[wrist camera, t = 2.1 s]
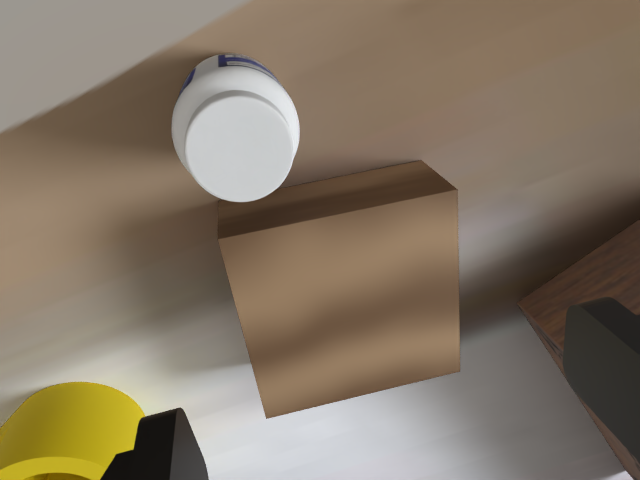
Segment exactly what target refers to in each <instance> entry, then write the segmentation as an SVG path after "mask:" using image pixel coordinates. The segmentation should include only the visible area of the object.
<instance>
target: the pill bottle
mask: <svg viewBox="0 0 640 480" xmlns="http://www.w3.org/2000/svg"><path fill="white" fill-rule="evenodd" d="M299 134H300V129H299V120H298V116H297V112H296V109H295V107H294V104H293V102H292V100H291V98H290V96H289V95H288V93H287V92H286V90H285V89H284V88H283V86H282V85H281V84H280V83H279V81H278V80H277V79H276V77H275V76H274V75H273V74H272V73H271V71H270V70H269V69H268V68H266V67H265V66H264V65H263V64H261V63H260V62H258V61H257V60H255V59H253V58H251V57H248V56H245V55H242V54H235V53H226V54H219V55H215V56H212V57H210V58H207V59H206V60H204V61H202V62H201V63H199V64H198V65H197V66H196V67H195V68H194V69H193V70H192V71H191V72H190V74H189V75H188V77H187V78H186V80H185V82H184V84H183V86H182V89H181V91H180V94H179V97H178V99H177V102H176V104H175V107H174V111H173V116H172V139H173V143H174V147H175V150H176V152H177V155H178V157H179V159H180V161H181V162H182V164H183V165H184V167H185V168H186V169H187V170H188V171H189V172H190V174H191V175H192V176H193V177H194V179H195V180H196V182H197V183H198V184H199V185H200V186H201V187H202V188H203V189H205V190H206V191H207V192H209V193H210V194H212V195H214V196H216V197H218V198H220V199H223V200H227V201H231V202H249V201H254V200H257V199H260V198H263V197H265V196H267V195H268V194H270V193H272V192H273V191H274V190H276V189H277V188H278V187H279V186H280V185H281V184H282V182H283V181H284V180H285V178H286V177H287V175H288V173H289V171H290V169H291V166H292V162H293V159H294V156H295V154H296V151H297V148H298V144H299Z"/></svg>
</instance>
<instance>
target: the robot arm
mask: <svg viewBox="0 0 640 480" xmlns="http://www.w3.org/2000/svg"><path fill="white" fill-rule="evenodd" d="M563 369H564V373H565V376H566V378H567V380H568V383H569V384H570V386H571V388H572V389H573V390H574V392H575V393H576V394H577V395H578V396H579V397H580V398H581V399H582V400H583V402H584V403H585V404H586V405H587V406H588V407H589V408H590V409H591V410H592V411H593V412H594V413H595V415H596V416H597V417H598V418H599V419H600V420H601V421H602V422H603V423H604V424H605V425H606V427H607V428H608V429H609V430H610V431H611V432H612V433H613V434H614V435H615V436H616V437H617V439H618V440H619V441H620V442H621V443H622V444H623V445H624V446H625V447H626V448H627V449H628V451H629V452H630V453H631V454H632V455H633V456H634V457H635V458H636V459H637V460H638V461H639V462H640V314H639V315H635V314H634V313H633V312H631V311H630V310H629V309H627V308H626V307H625V306H623V305H622V304H621V303H619V302H618V301H617V300H615V299H613V298H611V297H601V298H598V299H594V300H590V301H586V302H582V303H579V304H575V305H572V306H570V307H569V308H568V310H567V313H566V323H565V336H564V349H563ZM100 480H209V479H208V473H207V468H206V464H205V461H204V458H203V456H202V453H201V451H200V448H199V446H198V443H197V441H196V438H195V436H194V434H193V431H192V429H191V426H190V424H189V421H188V419H187V417H186V414H185V412H184V410H183V409H182V408H176V409H173V410H169V411H165V412H161V413H157V414H154V415H150V416H146V417H142V418H141V419H140V421H139V423H138V428H137V433H136V438H135V444H134V449H133V450H129V451H125V452H122V453H118V454H116V455H115V457H114V458H113V460H112V462H111V463H110V465H109V466H108V468H107V469H106V471H105V473H104V474H103V476H102V477H101V479H100Z"/></svg>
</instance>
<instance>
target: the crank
mask: <svg viewBox="0 0 640 480" xmlns="http://www.w3.org/2000/svg"><path fill="white" fill-rule="evenodd" d="M142 417H145V415H144V413H143V411H142V409H141V408H140V407H139V405H138V404H137V403H136V402H135V401H134V400H133V399H131V398H130V397H129V396H127V395H126V394H124V393H123V392H121V391H119V390H117V389H114V388H112V387H109V386H105V385H102V384H97V383H90V382H69V383H62V384H57V385H54V386H50V387H48V388H45V389H43V390H41V391H38V392H37V393H35V394H33V395H32V396H30V397H29V398H28V399H27V400H26V401H25V402H24V403H23V404H22V405H21V406H20V407H19V408H18V409H17V410H16V411H15V413H14V414H13V415H12V416H11V417H10V418H9V419H8V420H7V421H6V423H5V424H4V425H3V426H2V427H1V428H0V480H100V479H101V477H102V476H103V474H104V473H105V471H106V469H107V468H108V466H109V465H110V463H111V462H112V460H113V458H114V457H115V455H116V454H118V453H122V452H125V451H129V450H133V449H134V444H135V438H136V433H137V428H138V423H139V421H140V419H141V418H142Z"/></svg>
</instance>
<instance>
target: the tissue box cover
mask: <svg viewBox="0 0 640 480" xmlns="http://www.w3.org/2000/svg"><path fill="white" fill-rule="evenodd" d="M601 297H611V298H613V299H615V300H617V301H618V302H619V303H621V304H622V305H623V306H625V307H626V308H627V309H629V310H630V311H631V312H633V313H634V314H635V315H639V314H640V219H639V220H638V221H636V222H635V223H633V224H632V225H630V226H629V227H627V228H626V229H624V230H623V231H622V232H620V233H619V234H617V235H616V236H614V237H613V238H611V239H610V240H608V241H607V242H605V243H604V244H602V245H601V246H600V247H598V248H597V249H595V250H594V251H592V252H591V253H589V254H588V255H586V256H585V257H583V258H582V259H580V260H579V261H578V262H576V263H575V264H573V265H572V266H570V267H569V268H567V269H566V270H564V271H563V272H561V273H560V274H558V275H557V276H556V277H554V278H553V279H551V280H550V281H548V282H547V283H545V284H544V285H542V286H541V287H539V288H538V289H536V290H535V291H534V292H532V293H531V294H529V295H528V296H526V297H525V298H523V299H522V300H520V301H519V302H517V304H518V306H519V307H520V309H521V310H522V312H523V313H524V315H525V316H526V318H527V319H528V321H529V322H530V324H531V326H532V327H533V329H534V330H535V332H536V333H537V335H538V336H539V338H540V339H541V341H542V342H543V344H544V345H545V347H546V349H547V350H548V352H549V353H550V355H551V356H552V358H553V359H554V361H555V362H556V364H557V365H558V367H559V369H560V370H561V372H562V373H563V375H564V376H565V373H564V369H563V349H564V336H565V323H566V313H567V310H568V308H569V307H570V306H572V305H575V304H579V303H582V302H586V301H590V300H594V299H598V298H601ZM565 378H566V376H565ZM566 379H567V378H566ZM567 381H568V380H567ZM576 395H577V394H576ZM577 396H578V395H577ZM578 398H579V399H580V401H581V402H582V404H583V405H584V407H585V408H586V410H587V411H588V413H589V415H590V416H591V418H592V419H593V421H594V422H595V424H596V425H597V427H598V428H599V430H600V431H601V433H602V435H603V436H604V438H605V439H606V441H607V442H608V444H609V445H610V447H611V448H612V450H613V451H614V453H615V454H616V456H617V458H618V459H619V461H620V462H621V464H622V465H623V467H624V468H625V470H626V471H627V472H628V474H629V475H630V476H631V477H632V478H633V479H634V480H640V462H639V461H638V460H637V459H636V458H635V457H634V456H633V455H632V454H631V453H630V452H629V451H628V449H627V448H626V447H625V446H624V445H623V444H622V443H621V442H620V441H619V440H618V439H617V437H616V436H615V435H614V434H613V433H612V432H611V431H610V430H609V429H608V428H607V427H606V425H605V424H604V423H603V422H602V421H601V420H600V419H599V418H598V417H597V416H596V415H595V413H594V412H593V411H592V410H591V409H590V408H589V407H588V406H587V405H586V404H585V403H584V402H583V400H582V399H581V398H580V397H579V396H578Z"/></svg>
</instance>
